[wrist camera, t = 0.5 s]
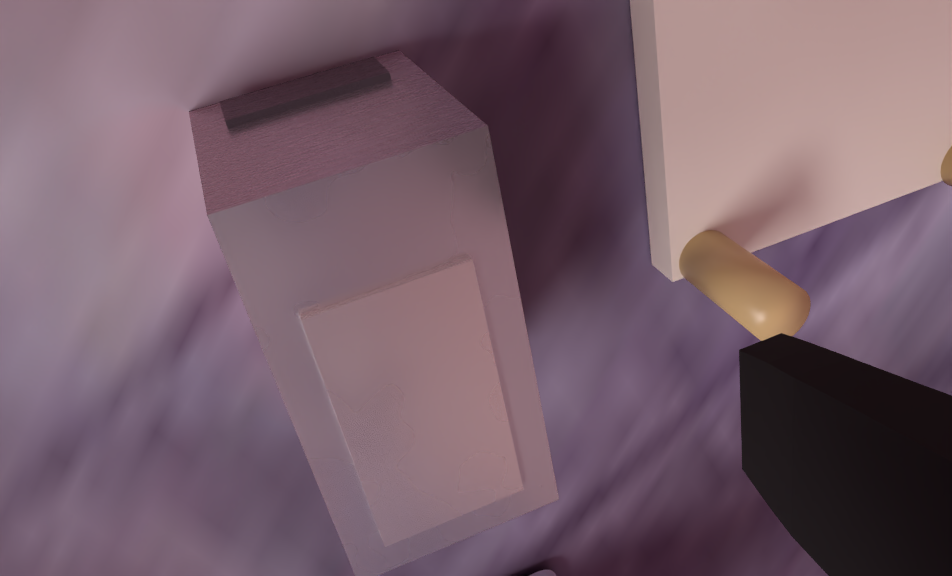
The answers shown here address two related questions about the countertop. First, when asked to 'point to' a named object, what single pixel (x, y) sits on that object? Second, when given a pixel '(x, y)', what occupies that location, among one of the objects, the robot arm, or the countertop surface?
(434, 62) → the countertop surface
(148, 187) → the countertop surface
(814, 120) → the wooden peg board
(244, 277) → the mauve rectangular box
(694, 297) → the countertop surface
